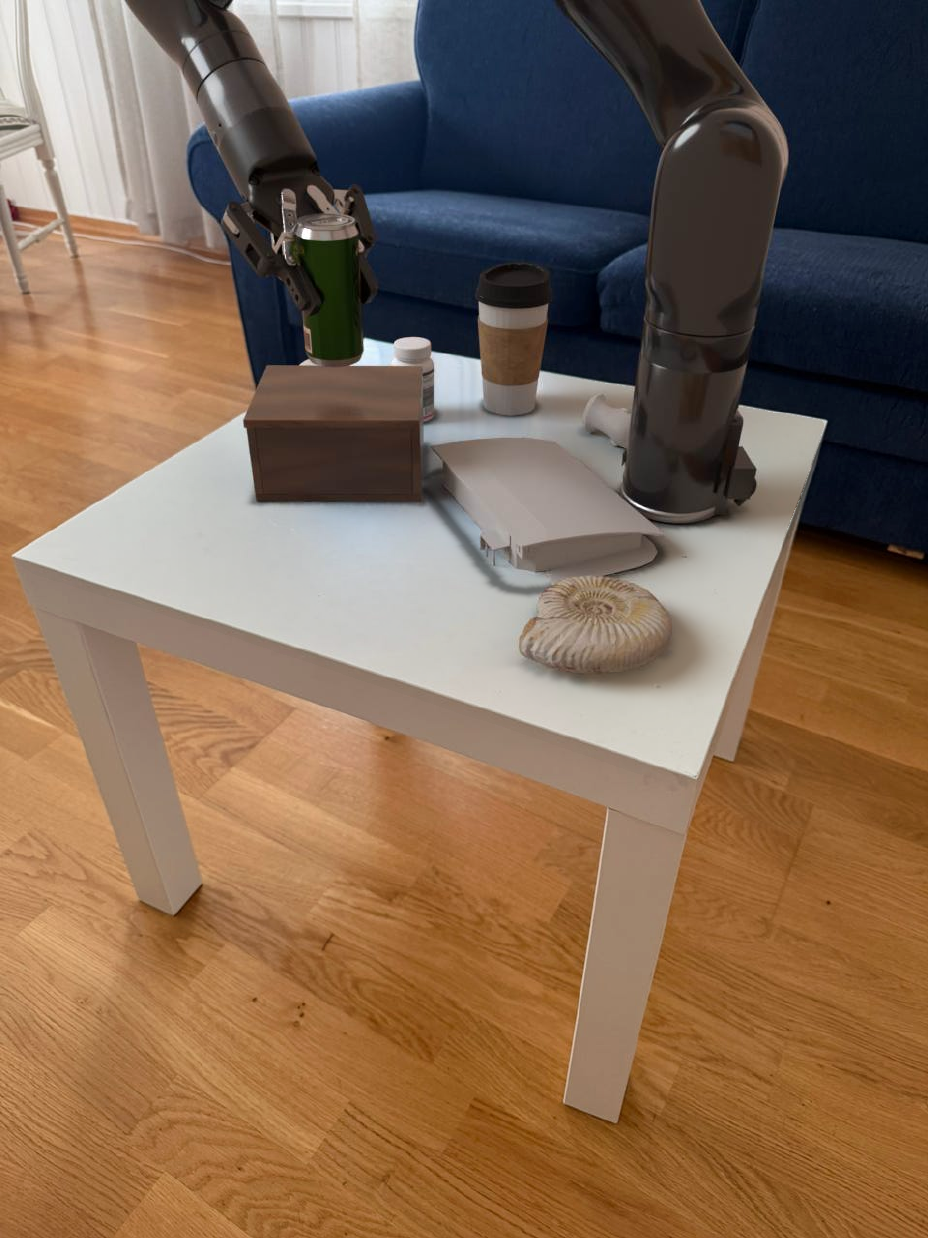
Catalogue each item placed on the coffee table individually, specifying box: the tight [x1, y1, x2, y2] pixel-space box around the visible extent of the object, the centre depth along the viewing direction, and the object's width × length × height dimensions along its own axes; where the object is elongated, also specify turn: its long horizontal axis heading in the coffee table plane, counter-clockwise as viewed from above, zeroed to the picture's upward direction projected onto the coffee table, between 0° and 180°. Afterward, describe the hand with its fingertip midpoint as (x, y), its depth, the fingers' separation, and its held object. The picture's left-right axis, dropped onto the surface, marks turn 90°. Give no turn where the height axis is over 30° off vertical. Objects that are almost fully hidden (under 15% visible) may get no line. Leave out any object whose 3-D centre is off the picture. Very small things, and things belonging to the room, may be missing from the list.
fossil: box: [518, 576, 673, 674], centre depth 68 cm, size 12×5×10 cm
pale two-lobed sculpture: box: [582, 393, 632, 449], centre depth 97 cm, size 4×8×5 cm
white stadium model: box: [430, 437, 666, 586], centre depth 83 cm, size 15×23×4 cm, turn 22°
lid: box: [242, 364, 423, 429], centre depth 86 cm, size 13×16×1 cm
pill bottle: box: [390, 336, 435, 423], centre depth 100 cm, size 5×5×8 cm
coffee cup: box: [474, 262, 554, 417], centre depth 101 cm, size 8×8×15 cm
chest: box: [245, 376, 425, 503], centre depth 89 cm, size 13×16×8 cm
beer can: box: [295, 213, 365, 367], centre depth 81 cm, size 5×5×12 cm
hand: (343, 303), depth 80 cm, fingers closed on beer can, 5 cm apart
